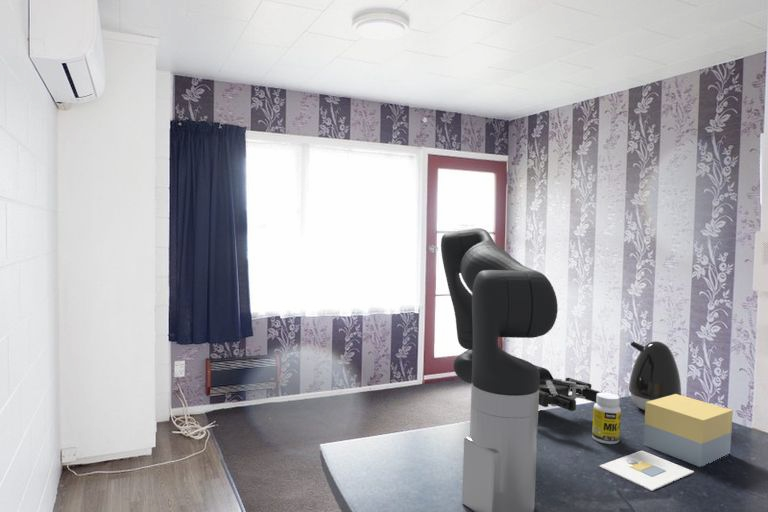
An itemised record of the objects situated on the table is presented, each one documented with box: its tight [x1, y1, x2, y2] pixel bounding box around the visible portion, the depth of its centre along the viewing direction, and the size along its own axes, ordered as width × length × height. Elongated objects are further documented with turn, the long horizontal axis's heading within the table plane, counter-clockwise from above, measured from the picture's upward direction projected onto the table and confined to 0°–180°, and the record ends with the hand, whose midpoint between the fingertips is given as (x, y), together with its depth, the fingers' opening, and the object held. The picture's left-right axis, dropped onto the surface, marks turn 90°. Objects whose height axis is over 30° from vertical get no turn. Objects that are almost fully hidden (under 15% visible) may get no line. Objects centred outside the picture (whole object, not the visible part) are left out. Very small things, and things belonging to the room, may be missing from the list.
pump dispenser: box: [628, 341, 682, 411], centre depth 113 cm, size 10×10×15 cm
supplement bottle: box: [591, 391, 622, 445], centre depth 97 cm, size 5×5×8 cm
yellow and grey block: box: [643, 394, 734, 468], centre depth 93 cm, size 10×10×8 cm
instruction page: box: [599, 450, 695, 492], centre depth 85 cm, size 12×9×1 cm
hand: (589, 402), depth 100 cm, fingers open, 8 cm apart
